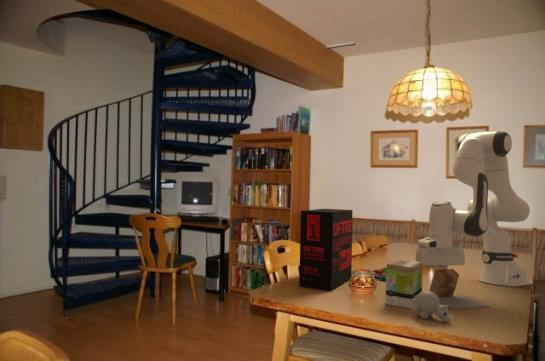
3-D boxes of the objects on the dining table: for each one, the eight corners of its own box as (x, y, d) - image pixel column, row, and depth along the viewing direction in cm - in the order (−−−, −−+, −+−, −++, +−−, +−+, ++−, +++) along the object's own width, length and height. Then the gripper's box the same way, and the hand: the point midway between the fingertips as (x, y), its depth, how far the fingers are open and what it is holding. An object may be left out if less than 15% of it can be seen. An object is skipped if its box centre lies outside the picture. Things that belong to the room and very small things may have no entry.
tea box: (413, 309, 141) (413, 267, 141) (384, 304, 146) (385, 263, 146) (422, 300, 154) (423, 260, 154) (395, 295, 159) (396, 258, 159)
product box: (331, 291, 163) (332, 212, 164) (299, 286, 170) (300, 210, 171) (351, 279, 187) (352, 210, 187) (322, 275, 193) (323, 208, 194)
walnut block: (446, 290, 163) (452, 269, 160) (452, 296, 159) (459, 274, 156) (429, 291, 161) (435, 269, 158) (435, 297, 158) (441, 275, 154)
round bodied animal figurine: (440, 333, 125) (451, 310, 123) (407, 310, 133) (416, 288, 131) (450, 327, 130) (460, 305, 128) (417, 306, 138) (426, 284, 136)
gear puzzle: (388, 269, 214) (388, 261, 214) (418, 274, 203) (418, 266, 204) (359, 278, 190) (359, 270, 190) (392, 284, 180) (392, 275, 180)
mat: (463, 296, 159) (463, 295, 159) (490, 307, 146) (490, 305, 146) (427, 298, 156) (427, 297, 156) (451, 309, 142) (451, 308, 142)
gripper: (457, 240, 167) (457, 274, 166) (413, 241, 162) (413, 275, 162) (468, 242, 160) (468, 277, 160) (423, 243, 156) (422, 279, 155)
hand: (440, 276), depth 161 cm, fingers closed
